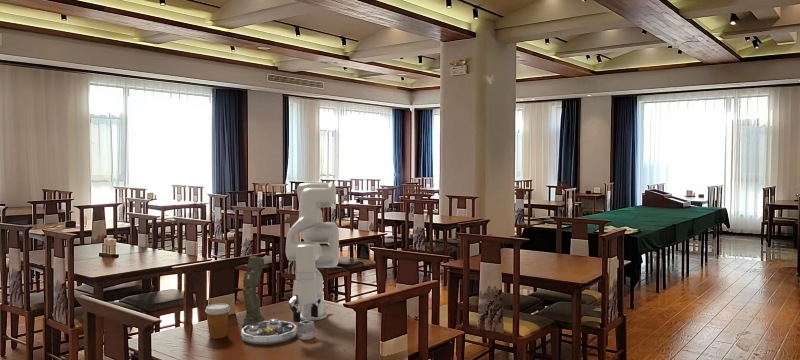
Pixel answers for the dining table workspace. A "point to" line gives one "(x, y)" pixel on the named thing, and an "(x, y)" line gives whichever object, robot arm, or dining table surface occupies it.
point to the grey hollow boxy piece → (306, 330)
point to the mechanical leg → (252, 290)
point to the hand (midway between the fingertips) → (305, 319)
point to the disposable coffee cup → (217, 319)
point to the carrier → (268, 332)
